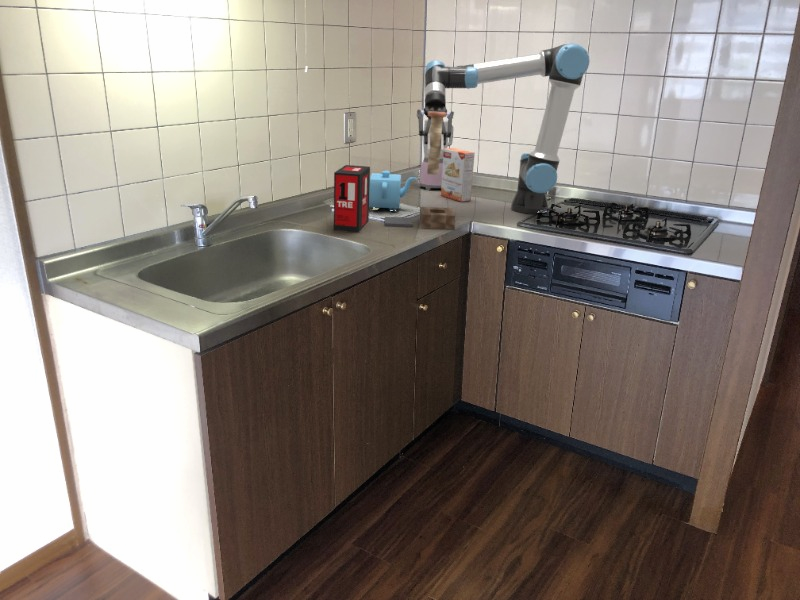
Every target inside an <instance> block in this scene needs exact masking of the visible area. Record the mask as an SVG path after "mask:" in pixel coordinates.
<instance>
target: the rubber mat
mask: <svg viewBox="0 0 800 600" xmlns="http://www.w3.org/2000/svg"><path fill="white" fill-rule="evenodd" d="M384 226H385V227H399V228H400V227H403V228H413V227H414V223H413V218H412V217H409V216H408V217H401V216H384Z"/></svg>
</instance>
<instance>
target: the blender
mask: <svg viewBox="0 0 800 600" xmlns="http://www.w3.org/2000/svg"><path fill="white" fill-rule="evenodd" d="M427 121H428V118H427V119H425V120H424V124H423V131H425V129H426V125H427ZM443 121H444V125H445V129H446V132H448V119H443ZM430 128H431V125H430ZM428 134H430V129H429V133H428ZM422 138H423V139H422V141H423V143H422V145H423V154H424V155H423V156H424V157H423V161H422V162H421V164H420V165H421V166H420V173H419V174H420V175H419V176H420V177H419V188H420V189H422V187H423V188H425V190H426V191H431V189H441V185H442V170H443V154H444V149H445V148H449V147H450V146H452V144H453V139H454V126H453V125H452V133H451V137H450V138H448V137H447V138H446V145H443V154H440V160H439V173H438V174H436V175H433V174H428V173H427V170H428V156H429V154H427V144H424V136H422Z"/></svg>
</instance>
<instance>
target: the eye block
mask: <svg viewBox="0 0 800 600" xmlns="http://www.w3.org/2000/svg"><path fill="white" fill-rule="evenodd" d="M419 224H420V228H421V229H436V230H438V229H439V230H455V229H456V228H455V224H456V214H455V212H454V209H453V208H452V207H438V206H437V207H435V206H434V207H431V206H420V207H419Z"/></svg>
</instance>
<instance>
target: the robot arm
mask: <svg viewBox="0 0 800 600" xmlns="http://www.w3.org/2000/svg"><path fill="white" fill-rule="evenodd" d="M589 65H590V55H589V53H588V51H587V49H586V48H585V47H584V46H582V45H580V44H579V43H571V42H570V43H566V44H561V45H558V46H555V47H552V48H548V49H543V50H540V51H539V53H535V54H529V55H523V56H516V57H509V58H503V59H498V60H491V61H485V62H477V63H473V64H466V65H457V66H451V67H450V66H446V65H445V63H444V62H443V61H440V60H439V59H438V60H436V59H433V60H431V61H429V62H427V64H426V66H425V69H424V70H425V71H424V108H423V109H419V108H418V109H417V110H416V117H417V119H418V135H419V137H423V136H424V144H427V154H429V153H430V134H428V133H429V129H430V125H431V116H428V112H429V111H437V112H446V113H447V114H446V118H447V121H448V132H446V129H445V125H444V121H442V134H441V145H440V154H443V145H446V138H447V137H448V139H449V138H450V137H451V133H452V126H453V119H454V115H455V112H454V111H453V110H451V112H450V111H448V108H447V107H446V101H447V100H446V92H447V91H446V89H468V90H470V89H476V88H477V87H478V85H480V84H481V85H482V84H485V83H494V82H499V81H505V80H506V81H507V80H513V79H520V78H521V79H522V78H526V77H532V76H541V77H543V78H545V77H549V78H548V80H549V83H550V84H551V86H550V91H549V94H548V96H547V97H548V98H547V102H546V105H545V109H544V114H543V117H542V121H541V124H540V129H539V133H538V136H537V140H536V144H535V149H534V150H533V151H531V152H530V153H522V154H521V157H520V160H519V163H520V164H519V169H518V170H519V172H518V173H519V174H518V182H517V191H516V192H515V195H514V197H513V199H512V201H511V206H510V209H511V210H512V211H514V212H517V213H522V214H529V215H537V214H536V213H537V212H538V211H540V210H544V209H548V210H549V203H548V197H547V192H549V191H550V192H551V190H552V189H554V187H555V186H556V184H557V182H558V172H557V171H558V168H559V164H560V161H561V160H560V158H559V156H558V152H559V148H560V145H561V141H562V138H563V134H564V130H565V127H566V123H567V119H568V116H569V112H570V109H571V105H572V102H573V97H574V94H575V91H576V90H577V89H578V88H580V87H581V85H582V82H583V77H584V75H585V74H586V72H587V71H588V69H589ZM424 115H425V116H426V118H427V119H428V121H427V125H426V129H425V131H424V123H423V121H424V119H423V118H424Z"/></svg>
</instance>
